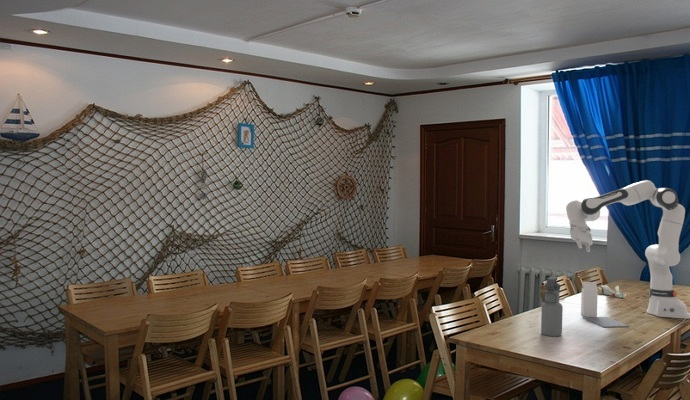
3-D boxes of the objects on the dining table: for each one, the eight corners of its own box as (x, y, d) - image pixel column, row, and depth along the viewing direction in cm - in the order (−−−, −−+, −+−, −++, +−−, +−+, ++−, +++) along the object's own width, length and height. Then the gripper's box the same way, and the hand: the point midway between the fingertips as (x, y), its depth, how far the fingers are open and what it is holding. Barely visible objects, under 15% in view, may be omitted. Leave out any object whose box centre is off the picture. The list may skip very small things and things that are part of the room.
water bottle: (559, 338, 289) (560, 280, 288) (538, 335, 294) (539, 278, 293) (563, 333, 298) (565, 277, 297) (543, 330, 303) (544, 275, 302)
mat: (583, 318, 330) (583, 317, 330) (606, 317, 332) (606, 316, 332) (603, 327, 310) (603, 326, 310) (628, 326, 312) (628, 325, 312)
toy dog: (622, 299, 384) (622, 285, 384) (592, 295, 397) (592, 281, 396) (628, 296, 393) (628, 282, 393) (599, 292, 406) (599, 279, 405)
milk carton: (596, 317, 333) (597, 283, 332) (583, 316, 334) (584, 282, 333) (594, 314, 340) (595, 281, 339) (581, 313, 341) (581, 280, 340)
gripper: (575, 221, 340) (581, 244, 334) (591, 229, 353) (597, 251, 347) (565, 225, 344) (570, 247, 338) (581, 233, 357) (587, 254, 351)
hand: (584, 249), depth 342 cm, fingers open, 8 cm apart
